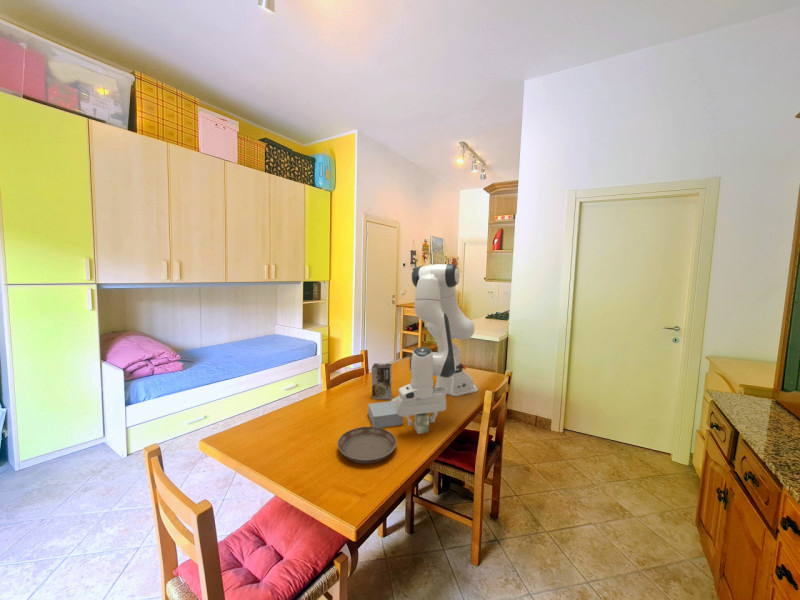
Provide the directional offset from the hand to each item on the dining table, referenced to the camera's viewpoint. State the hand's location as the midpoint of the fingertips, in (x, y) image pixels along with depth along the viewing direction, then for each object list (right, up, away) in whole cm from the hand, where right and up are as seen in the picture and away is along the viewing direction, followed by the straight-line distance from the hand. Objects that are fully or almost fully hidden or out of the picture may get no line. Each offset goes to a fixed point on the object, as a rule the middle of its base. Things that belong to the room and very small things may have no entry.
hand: (421, 423), depth 124 cm
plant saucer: (-20, -5, -13) cm, 24 cm away
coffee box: (-17, 0, +32) cm, 36 cm away
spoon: (-14, -1, +21) cm, 25 cm away
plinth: (-15, -2, +8) cm, 17 cm away
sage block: (0, -3, 0) cm, 3 cm away
